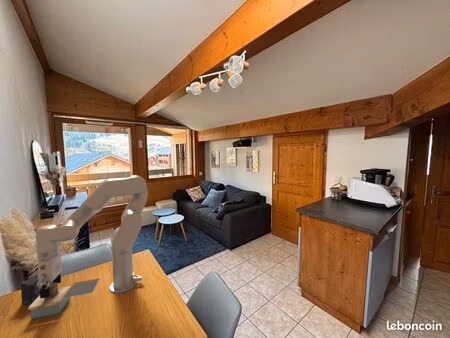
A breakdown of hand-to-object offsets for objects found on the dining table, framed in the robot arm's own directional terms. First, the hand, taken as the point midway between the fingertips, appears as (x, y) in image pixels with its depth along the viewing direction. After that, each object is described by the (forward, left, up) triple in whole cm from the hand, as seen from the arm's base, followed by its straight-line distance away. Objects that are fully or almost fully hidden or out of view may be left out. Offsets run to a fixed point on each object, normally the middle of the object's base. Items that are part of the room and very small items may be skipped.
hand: (51, 289), depth 87 cm
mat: (-8, -12, -9) cm, 17 cm away
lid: (0, 0, -4) cm, 4 cm away
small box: (+10, -11, -9) cm, 17 cm away
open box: (0, 0, -9) cm, 9 cm away
